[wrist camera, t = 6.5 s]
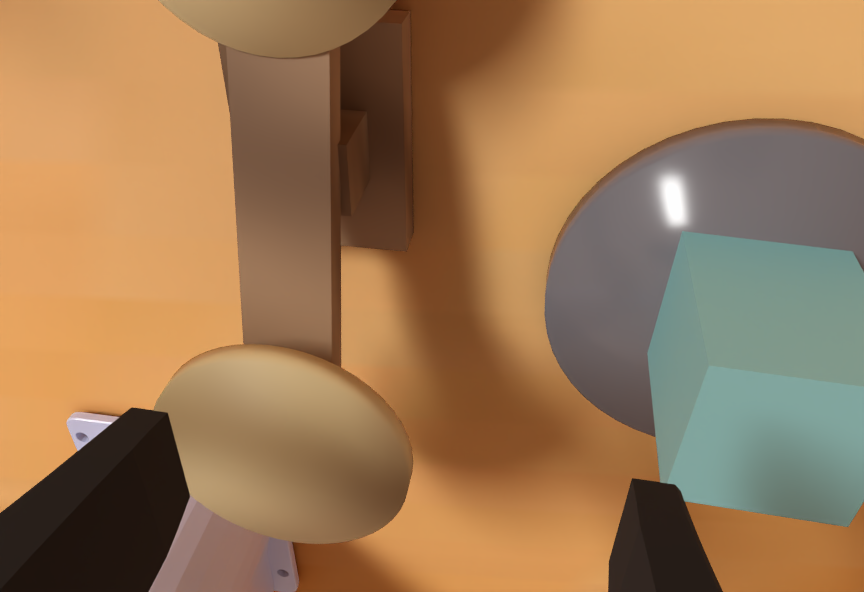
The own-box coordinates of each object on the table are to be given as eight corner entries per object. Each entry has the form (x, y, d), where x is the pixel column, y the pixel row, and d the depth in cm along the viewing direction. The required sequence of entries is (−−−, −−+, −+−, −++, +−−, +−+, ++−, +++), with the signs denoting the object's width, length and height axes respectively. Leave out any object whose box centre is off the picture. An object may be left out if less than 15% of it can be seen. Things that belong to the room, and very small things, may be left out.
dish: (862, 441, 22) (873, 467, 22) (532, 402, 24) (530, 425, 23) (1019, 134, 17) (1041, 153, 16) (566, 104, 18) (565, 121, 17)
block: (796, 373, 20) (847, 527, 16) (647, 353, 21) (662, 497, 17) (852, 251, 18) (929, 395, 14) (682, 230, 18) (708, 365, 14)
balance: (446, 396, 24) (410, 559, 19) (259, 374, 25) (180, 525, 20) (459, -343, 13) (386, -394, 8) (128, -339, 14) (-112, -382, 9)
